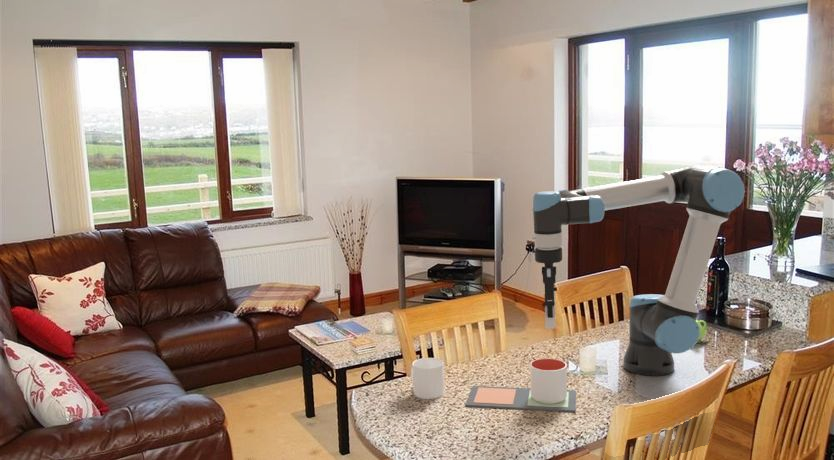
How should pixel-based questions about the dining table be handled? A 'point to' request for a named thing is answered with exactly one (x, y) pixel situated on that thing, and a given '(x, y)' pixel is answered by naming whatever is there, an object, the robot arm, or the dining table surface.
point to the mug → (428, 378)
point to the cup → (548, 380)
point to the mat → (516, 399)
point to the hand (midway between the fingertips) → (550, 320)
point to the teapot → (701, 329)
